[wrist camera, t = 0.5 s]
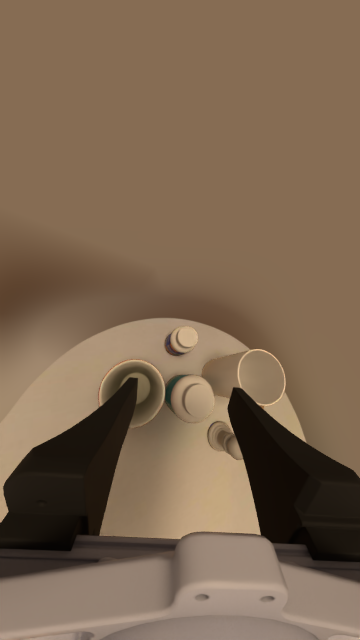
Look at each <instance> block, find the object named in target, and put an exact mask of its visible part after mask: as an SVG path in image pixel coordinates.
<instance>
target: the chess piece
mask: <svg viewBox="0 0 360 640" xmlns="http://www.w3.org/2000/svg"><path fill="white" fill-rule="evenodd" d="M208 440H209V443H210V445H211V446H212V448H213V449H215V450H217V451H225V452H227V453H228V454H230V455H231V456H232V457H233V458H234V459H236V460H242V459H243V456H242V453H241V451H240V448H239V445H238V442H237V439H236V437H235V435H234V434H233V433H231V430H230V428H229V427H228V425H227V424H225V423H223V422H216V423H214V424H213V425H212V426H211V427H210V429H209V432H208Z"/></svg>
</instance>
